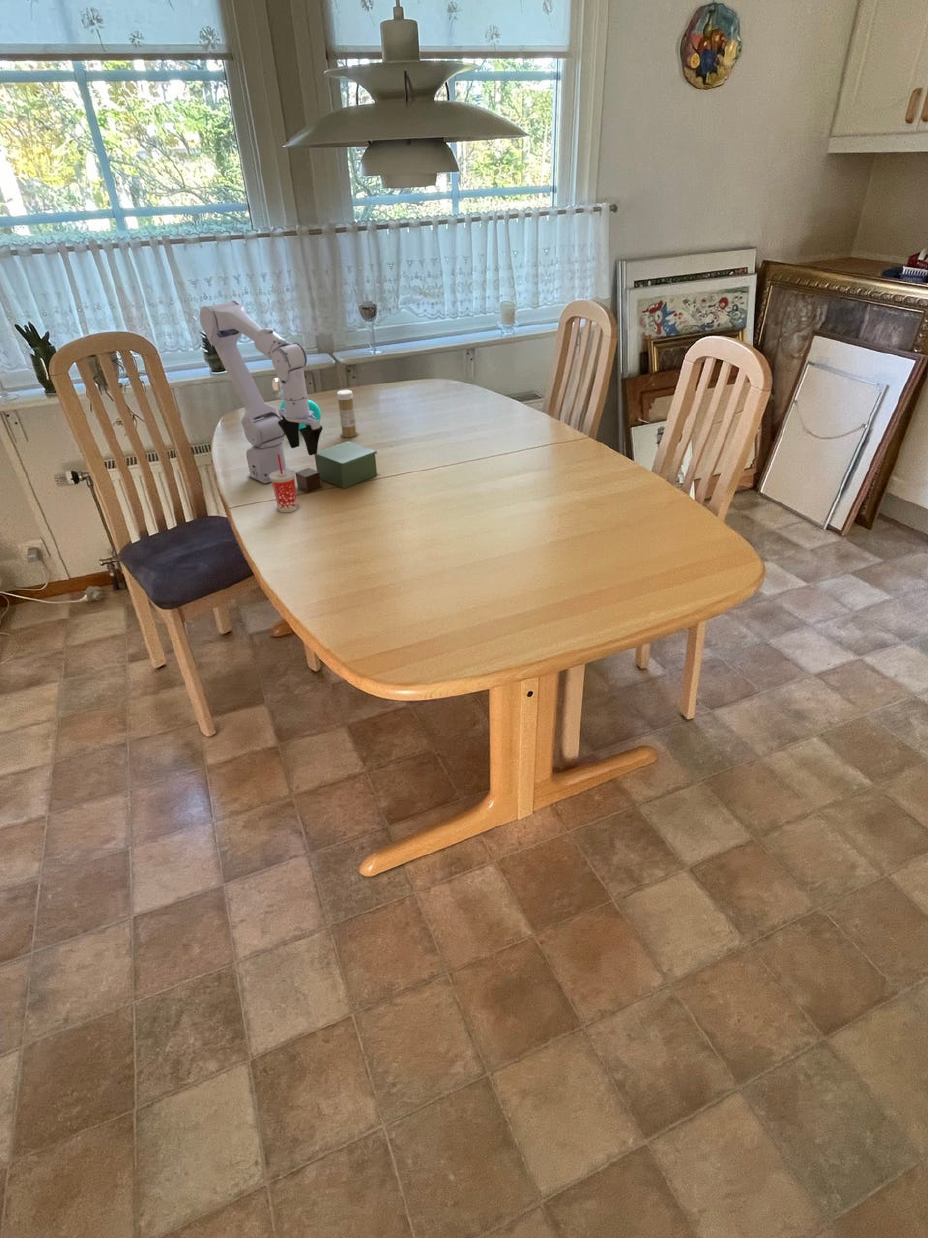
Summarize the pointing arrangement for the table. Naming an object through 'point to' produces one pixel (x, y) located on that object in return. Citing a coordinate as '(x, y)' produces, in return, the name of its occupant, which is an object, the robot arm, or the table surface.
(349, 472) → the chest
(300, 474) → the block
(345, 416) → the sprinkles bottle
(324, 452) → the lid
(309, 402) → the donuts
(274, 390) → the wineglass
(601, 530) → the table surface
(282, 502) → the beverage cup
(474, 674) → the table surface
